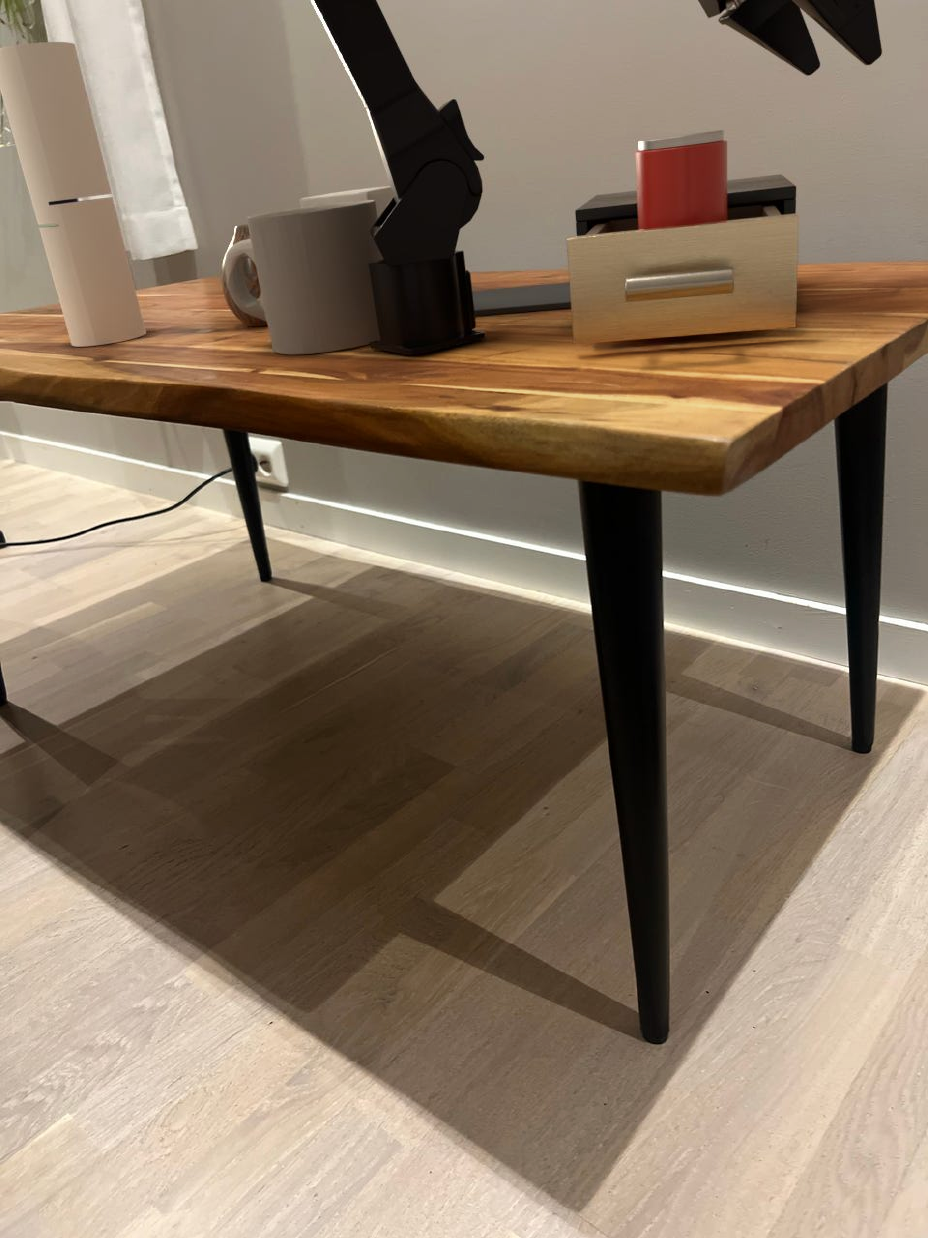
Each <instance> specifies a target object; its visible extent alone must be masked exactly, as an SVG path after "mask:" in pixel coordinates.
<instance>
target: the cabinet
mask: <svg viewBox="0 0 928 1238" xmlns="http://www.w3.org/2000/svg"><path fill="white" fill-rule="evenodd" d="M769 202H772V203H773V204H774V205H775V207H776V208H777V209H778V211H779V212H780V213H781V215H786V214H796V213H797V185H795V184H794V183H793V182H792V181H790V179H788V178H787V177H786V176H784V175H783V174H770V175H763V176H756V177H755V176H754V177H753V176H752V177H745V178H736V179H727V207H732V206H741V205H751V204H760V203H769ZM574 214H575V227H576V228H575V229H576V230H575V232H576V236H583V235H586V234H587V233H588V232H589V231H590V230H591V229H592V228H593V227H594V226H595V225H596V224H597V223H598V222H599V221H601V220H610V219H620V218H629V217H638V208H637V190H629V191H620V192H612V193H601V194H597V195H594V196H593V197H592V198H590V199H589V200H588V201H586V202H584V203H583V204H582V205H581V206H579V207H578V208H577V209H576V210H575V212H574Z"/></svg>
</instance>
